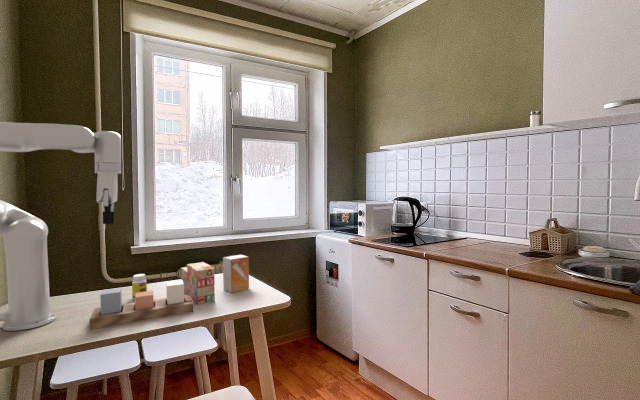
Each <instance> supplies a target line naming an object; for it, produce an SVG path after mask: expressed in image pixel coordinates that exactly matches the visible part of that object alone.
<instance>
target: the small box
mask: <svg viewBox="0 0 640 400" xmlns="http://www.w3.org/2000/svg"><path fill="white" fill-rule="evenodd" d="M249 262H250V259H249V256H247V255H244V254H238V255H237V254H236V255H229V256H224V257H223V256H222V266H223V267H222V271H223V272H222V275H223V278H222V279H223V290H224V291H225V292H229V293H236V292H240V291H245V290H249V289H250V276H249V275H250V267H249V266H250V263H249Z"/></svg>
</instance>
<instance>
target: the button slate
mask: <svg viewBox="0 0 640 400" xmlns="http://www.w3.org/2000/svg"><path fill="white" fill-rule="evenodd" d="M99 295H100V307H101V315H102V314H109V313H116V312H121V308H122V304H123V303H122V302H123V301H122V297H123V296H122V287H117V288H110V289H103V290H102V291H101V292H100V294H99Z"/></svg>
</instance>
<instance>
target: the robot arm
mask: <svg viewBox="0 0 640 400" xmlns="http://www.w3.org/2000/svg"><path fill="white" fill-rule="evenodd" d="M38 150H70V151H72V152H75V153H78V154H86V153H87V154H89V153H91V154H92V153H94V174H97V178H96V203H98V204H100V203H101V204H102V224H104V225H113V224H115V223H116V222H115V220H116V219H115V216H116V215H115V212H116V211H115V203H116V202H118V195H119V194H118V192H119V191H118V190H119V189H118V188H119V187H118V182H119V181H118V175H119V174H120V175H121V174H122V136H121V134H120V133H118V132H116V131H108V130H99V131H97V132H92V130H91V129H89V128H88V127H85V126H82V125H79V124H78V125H76V124H75V125H74V124H66V123H65V124H63V123H44V122H43V123H33V122H11V121H0V152H6V153H7V152H12V153H27V152H28V153H29V152H33V151H38ZM48 235H49V227H48V225H47V224H46V222H45V221H44V220H42V219H41V218H39V217H37V216H35V215H32V214H31V213H29V212H27V211H24V210H22V209H20V208H19V207H17V206H14V205H13V204H10V203H8V202H6V201H4V200H2V199H0V237H2V238H3V249H4V253H5V254H4V255H5V269H6V285H7V286H6V287H7V306H8V307H7V308H8V310H5V311H4V312H3V313H2V312H0V322H1V321H3V323H2V324H1V329H2V330H3V331H9V332H14V331H24V330H29V329H35V328H38V327H42V326H44V325H45V326H46V325H47V324H50V323H52V322H53V321H55V320H56V319H57V318H58V316H57V315H58V314H57V313H56V312H54V311H51V299H50V278H49V277H50V274H49V257H48Z"/></svg>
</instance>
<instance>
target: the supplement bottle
mask: <svg viewBox="0 0 640 400" xmlns="http://www.w3.org/2000/svg"><path fill="white" fill-rule="evenodd" d="M132 279H133V280H132V281H131V283H132V284H131V288H132V289H131V291H132V293H131V294H132V299H133V300H135V295H136V293H139V292H147V291H148V290H147V289H148V287H147V286H148V284H147V283H148V281H147V279H146V274H145V273H138V274H137V273H136V274H134V275H133V276H132Z"/></svg>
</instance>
